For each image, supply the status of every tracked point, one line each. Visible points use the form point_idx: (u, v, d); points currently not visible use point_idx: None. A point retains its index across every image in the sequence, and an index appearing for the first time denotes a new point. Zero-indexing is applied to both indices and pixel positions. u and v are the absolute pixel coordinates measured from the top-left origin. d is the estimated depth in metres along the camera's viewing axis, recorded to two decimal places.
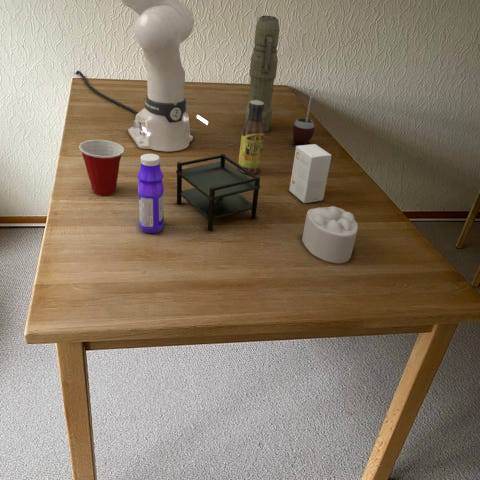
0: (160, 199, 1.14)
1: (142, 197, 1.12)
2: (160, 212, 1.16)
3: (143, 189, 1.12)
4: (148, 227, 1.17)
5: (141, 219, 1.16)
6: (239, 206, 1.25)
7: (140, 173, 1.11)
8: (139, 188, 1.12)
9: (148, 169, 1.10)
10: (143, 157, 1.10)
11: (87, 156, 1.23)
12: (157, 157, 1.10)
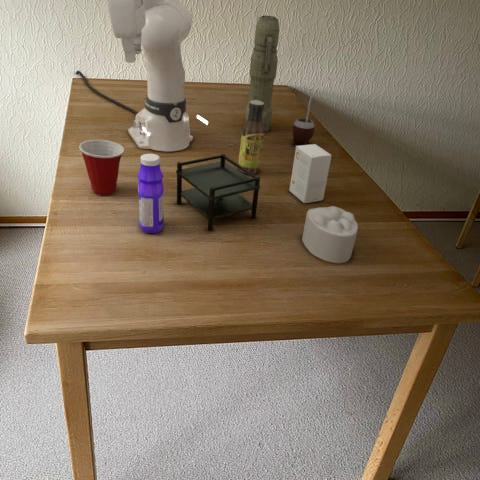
0: (160, 199, 1.14)
1: (142, 197, 1.12)
2: (160, 212, 1.16)
3: (143, 189, 1.12)
4: (148, 227, 1.17)
5: (141, 219, 1.16)
6: (239, 206, 1.25)
7: (140, 173, 1.11)
8: (139, 188, 1.12)
9: (148, 169, 1.10)
10: (143, 157, 1.10)
11: (87, 156, 1.23)
12: (157, 157, 1.10)
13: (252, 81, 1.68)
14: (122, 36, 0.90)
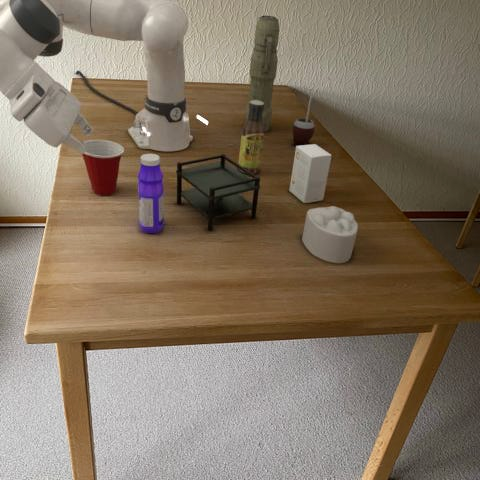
0: (160, 199, 1.14)
1: (142, 197, 1.12)
2: (160, 212, 1.16)
3: (143, 189, 1.12)
4: (148, 227, 1.17)
5: (141, 219, 1.16)
6: (239, 206, 1.25)
7: (140, 173, 1.11)
8: (139, 188, 1.12)
9: (148, 169, 1.10)
10: (143, 157, 1.10)
11: (87, 156, 1.23)
12: (157, 157, 1.10)
13: (252, 81, 1.68)
14: (59, 143, 0.97)
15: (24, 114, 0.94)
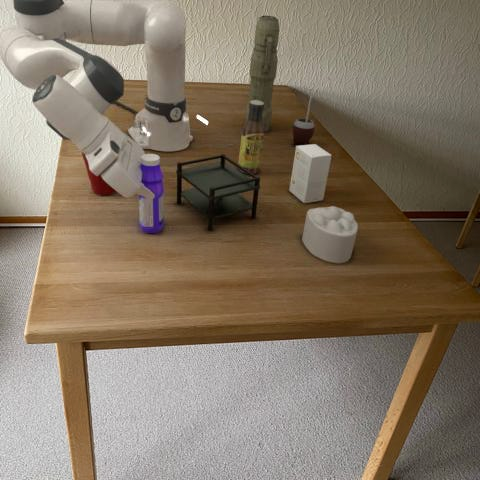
0: (160, 199, 1.14)
1: (142, 197, 1.12)
2: (160, 212, 1.16)
3: None
4: (148, 227, 1.17)
5: (141, 219, 1.16)
6: (239, 206, 1.25)
7: None
8: None
9: (148, 169, 1.10)
10: (143, 157, 1.10)
11: None
12: (157, 157, 1.10)
13: (252, 81, 1.68)
14: (132, 194, 1.05)
15: (102, 170, 1.02)
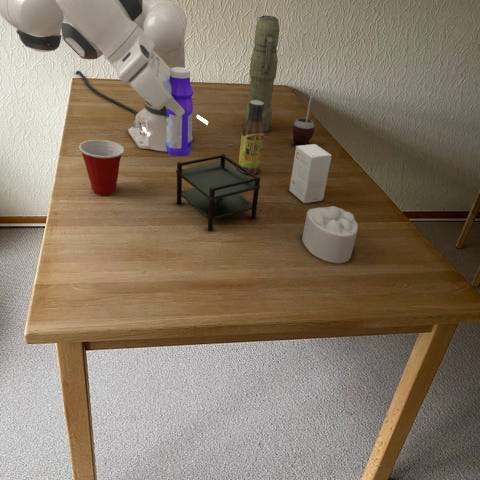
0: (189, 117, 1.07)
1: (171, 114, 1.05)
2: (189, 132, 1.09)
3: None
4: (175, 149, 1.10)
5: (169, 140, 1.09)
6: (239, 206, 1.25)
7: None
8: None
9: (177, 82, 1.03)
10: (173, 69, 1.03)
11: (87, 156, 1.23)
12: (187, 70, 1.03)
13: (252, 81, 1.68)
14: (163, 105, 0.98)
15: (131, 76, 0.95)
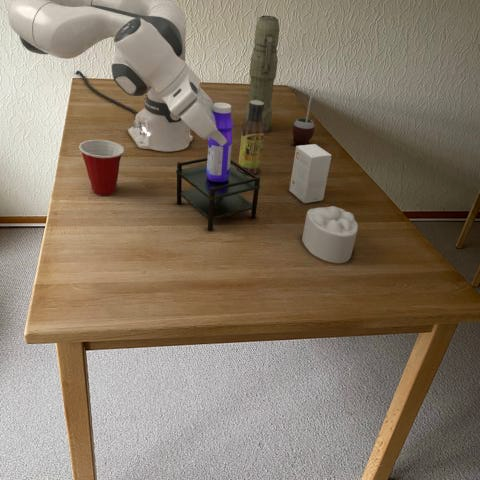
0: (229, 147, 1.17)
1: (213, 145, 1.16)
2: (228, 161, 1.19)
3: None
4: (216, 176, 1.20)
5: (210, 168, 1.20)
6: (239, 206, 1.25)
7: None
8: None
9: (220, 117, 1.14)
10: (216, 105, 1.13)
11: (87, 156, 1.23)
12: (229, 105, 1.14)
13: (252, 81, 1.68)
14: (209, 135, 1.08)
15: (181, 110, 1.05)
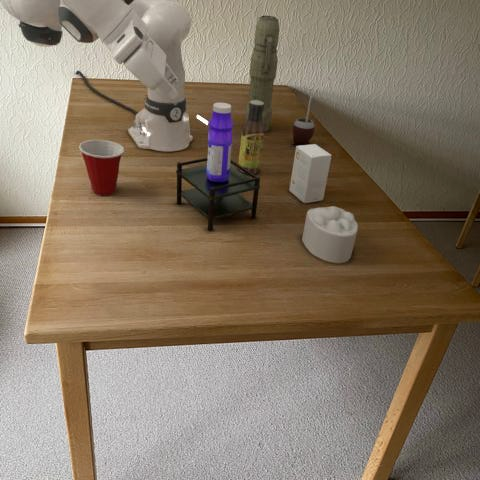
0: (229, 147, 1.17)
1: (213, 145, 1.16)
2: (228, 161, 1.19)
3: (214, 137, 1.15)
4: (216, 176, 1.20)
5: (210, 168, 1.20)
6: (239, 206, 1.25)
7: (212, 121, 1.15)
8: (210, 136, 1.16)
9: (220, 117, 1.14)
10: (216, 105, 1.13)
11: (87, 156, 1.23)
12: (229, 105, 1.14)
13: (252, 81, 1.68)
14: (156, 85, 1.01)
15: (125, 56, 0.98)
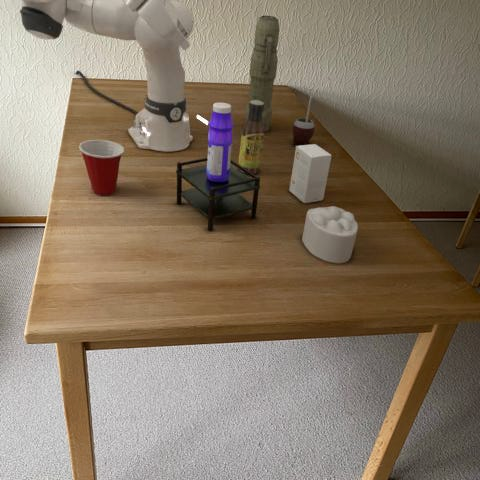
0: (229, 147, 1.17)
1: (213, 145, 1.16)
2: (228, 161, 1.19)
3: (214, 137, 1.15)
4: (216, 176, 1.20)
5: (210, 168, 1.20)
6: (239, 206, 1.25)
7: (212, 121, 1.15)
8: (210, 136, 1.16)
9: (220, 117, 1.14)
10: (216, 105, 1.13)
11: (87, 156, 1.23)
12: (229, 105, 1.14)
13: (252, 81, 1.68)
14: (169, 33, 1.01)
15: (138, 3, 0.99)
